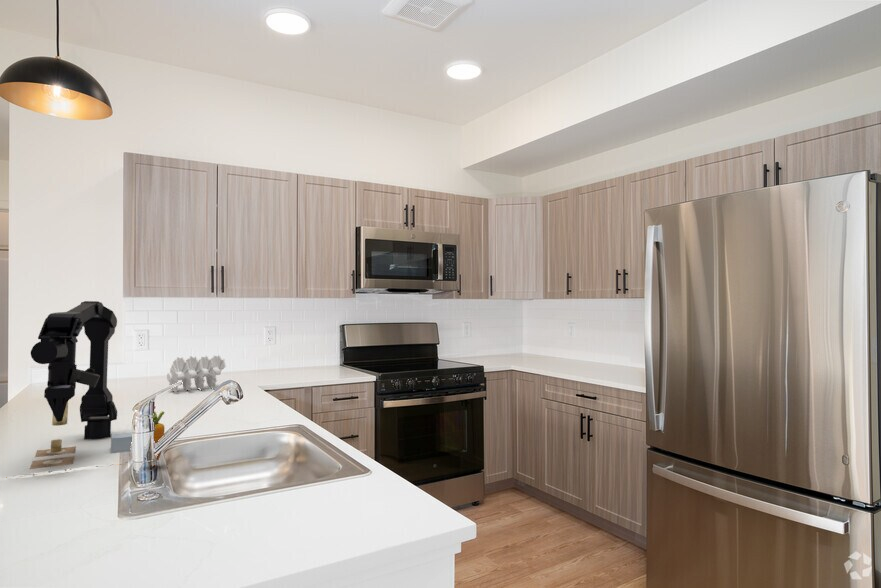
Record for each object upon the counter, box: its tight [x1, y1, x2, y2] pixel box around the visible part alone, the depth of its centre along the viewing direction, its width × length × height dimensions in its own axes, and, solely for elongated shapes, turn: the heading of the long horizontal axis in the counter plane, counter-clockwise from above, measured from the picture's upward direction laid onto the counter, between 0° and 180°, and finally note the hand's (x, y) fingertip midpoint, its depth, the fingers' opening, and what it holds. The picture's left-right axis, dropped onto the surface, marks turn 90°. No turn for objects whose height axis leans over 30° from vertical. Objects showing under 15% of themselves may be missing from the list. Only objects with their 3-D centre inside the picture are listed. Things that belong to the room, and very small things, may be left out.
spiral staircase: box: [166, 354, 227, 393], centre depth 264 cm, size 18×18×25 cm
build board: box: [29, 455, 75, 470], centre depth 138 cm, size 9×8×1 cm
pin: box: [51, 400, 69, 427], centre depth 139 cm, size 3×3×6 cm
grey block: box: [110, 431, 133, 454], centre depth 151 cm, size 6×6×5 cm
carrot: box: [153, 411, 165, 461], centre depth 138 cm, size 5×5×15 cm
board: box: [34, 439, 77, 458], centre depth 148 cm, size 9×8×4 cm
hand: (59, 420), depth 139 cm, fingers closed on pin, 3 cm apart
